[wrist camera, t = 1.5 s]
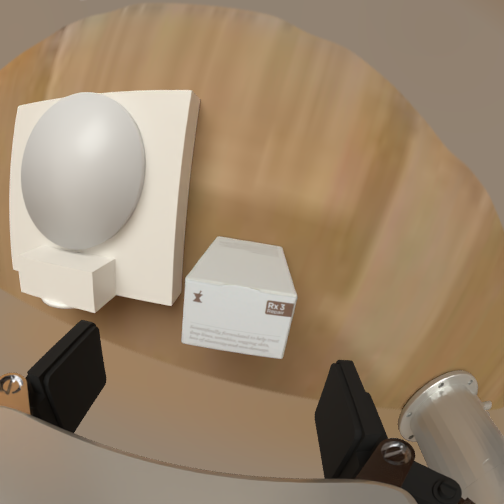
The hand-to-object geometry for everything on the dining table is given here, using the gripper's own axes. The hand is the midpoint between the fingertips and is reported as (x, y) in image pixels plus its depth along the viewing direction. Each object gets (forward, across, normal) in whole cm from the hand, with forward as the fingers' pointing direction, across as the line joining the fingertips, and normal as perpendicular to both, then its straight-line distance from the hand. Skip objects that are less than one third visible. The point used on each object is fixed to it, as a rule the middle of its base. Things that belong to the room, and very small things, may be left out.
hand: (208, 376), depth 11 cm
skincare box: (+17, -1, 0) cm, 17 cm away
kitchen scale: (+17, +15, -4) cm, 24 cm away
